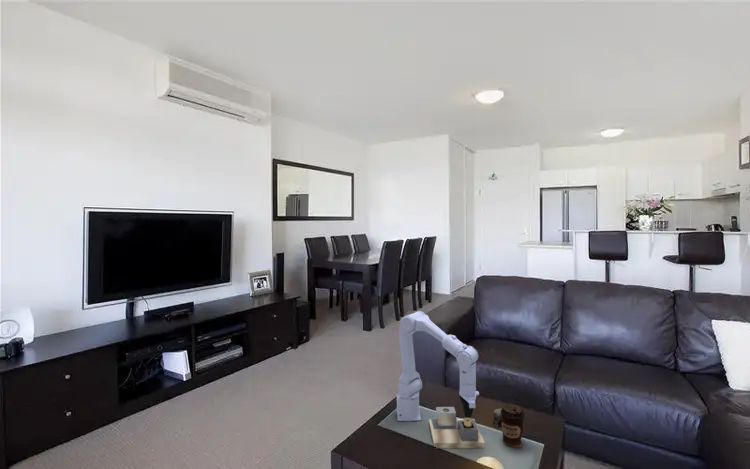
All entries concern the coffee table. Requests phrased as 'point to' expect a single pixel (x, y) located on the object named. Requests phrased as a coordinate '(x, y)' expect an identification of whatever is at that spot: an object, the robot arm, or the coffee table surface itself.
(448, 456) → the coffee table surface
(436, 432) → the base
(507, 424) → the coffee cup
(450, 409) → the block
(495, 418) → the rhino figurine
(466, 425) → the pin
